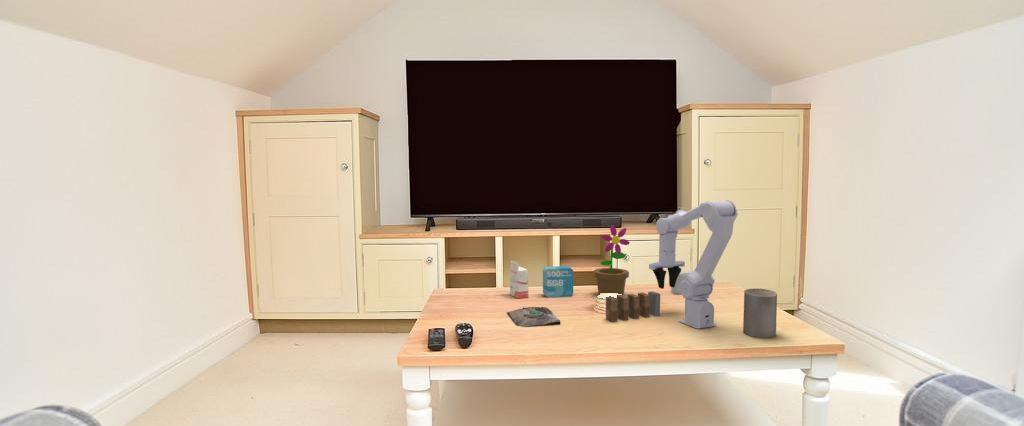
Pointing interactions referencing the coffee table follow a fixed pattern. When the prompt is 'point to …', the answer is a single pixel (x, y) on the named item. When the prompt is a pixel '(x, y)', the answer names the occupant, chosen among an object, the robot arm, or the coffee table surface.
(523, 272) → the ink cartridge box
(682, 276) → the medicine box
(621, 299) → the tile
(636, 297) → the tile
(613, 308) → the tile
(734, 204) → the robot arm
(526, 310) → the terrain model
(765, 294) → the pillar candle
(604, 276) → the flowerpot
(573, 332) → the coffee table surface
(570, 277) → the data package
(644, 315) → the tile
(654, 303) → the tile
